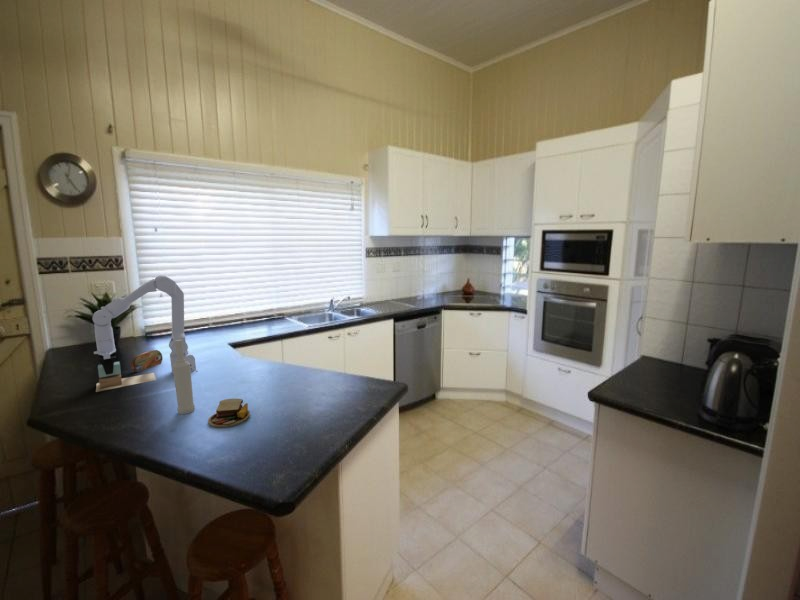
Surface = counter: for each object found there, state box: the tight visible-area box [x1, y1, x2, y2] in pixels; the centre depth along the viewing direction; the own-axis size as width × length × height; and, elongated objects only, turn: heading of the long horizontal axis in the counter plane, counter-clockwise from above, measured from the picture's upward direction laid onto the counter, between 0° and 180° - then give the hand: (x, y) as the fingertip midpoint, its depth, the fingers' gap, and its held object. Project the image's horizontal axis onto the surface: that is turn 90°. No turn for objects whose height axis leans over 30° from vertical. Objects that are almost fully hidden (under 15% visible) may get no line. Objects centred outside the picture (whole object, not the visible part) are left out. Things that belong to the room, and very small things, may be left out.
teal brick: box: [97, 361, 122, 378], centre depth 154 cm, size 5×7×4 cm
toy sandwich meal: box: [207, 398, 251, 429], centre depth 123 cm, size 12×14×5 cm
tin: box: [130, 349, 163, 373], centre depth 175 cm, size 15×3×8 cm, turn 168°
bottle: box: [172, 340, 196, 415], centre depth 128 cm, size 5×5×25 cm
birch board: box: [95, 372, 157, 393], centre depth 157 cm, size 20×12×1 cm, turn 127°
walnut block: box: [98, 373, 123, 389], centre depth 154 cm, size 7×7×4 cm
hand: (109, 372), depth 154 cm, fingers closed on teal brick, 5 cm apart
